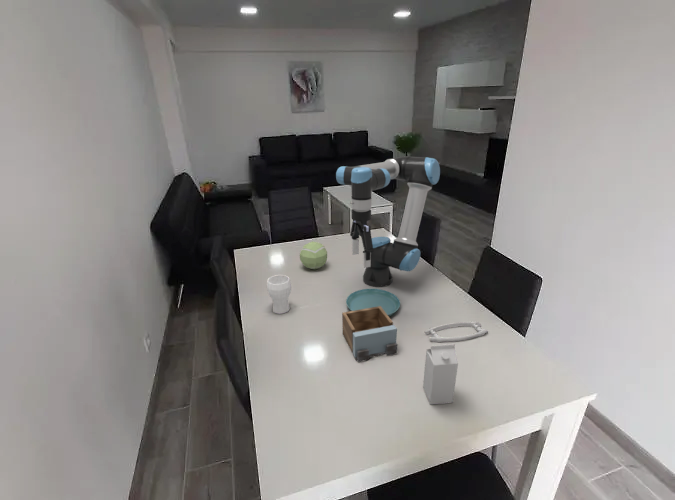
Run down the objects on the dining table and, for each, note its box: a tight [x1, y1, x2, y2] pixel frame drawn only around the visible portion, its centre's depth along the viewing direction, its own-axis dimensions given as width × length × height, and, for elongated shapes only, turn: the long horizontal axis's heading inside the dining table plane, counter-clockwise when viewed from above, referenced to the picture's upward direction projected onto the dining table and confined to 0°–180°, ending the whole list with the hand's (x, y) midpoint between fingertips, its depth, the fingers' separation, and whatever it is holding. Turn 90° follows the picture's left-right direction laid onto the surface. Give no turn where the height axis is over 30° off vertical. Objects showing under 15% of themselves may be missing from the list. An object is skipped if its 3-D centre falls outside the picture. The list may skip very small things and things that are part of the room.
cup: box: [266, 274, 292, 315], centre depth 156 cm, size 11×11×15 cm
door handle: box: [424, 321, 489, 343], centre depth 139 cm, size 3×10×25 cm
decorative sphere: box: [299, 241, 328, 270], centre depth 197 cm, size 15×15×15 cm
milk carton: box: [422, 343, 459, 405], centre depth 106 cm, size 7×7×19 cm
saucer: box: [345, 288, 401, 317], centre depth 158 cm, size 24×24×3 cm
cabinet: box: [341, 306, 398, 363], centre depth 133 cm, size 16×18×10 cm
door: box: [352, 324, 398, 359], centre depth 127 cm, size 16×2×9 cm, turn 106°
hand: (360, 260), depth 141 cm, fingers open, 13 cm apart
